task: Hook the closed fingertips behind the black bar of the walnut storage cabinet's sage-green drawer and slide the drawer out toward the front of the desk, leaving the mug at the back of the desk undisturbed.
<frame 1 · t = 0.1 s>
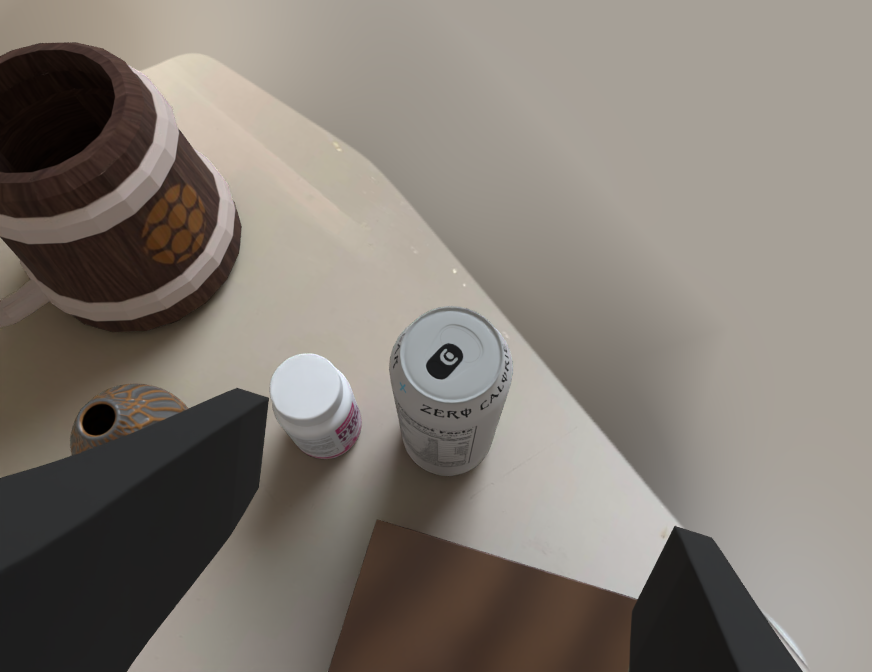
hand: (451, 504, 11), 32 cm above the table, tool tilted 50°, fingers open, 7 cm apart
cabinet: (467, 668, 38), on the table
pill bottle: (328, 426, 44), on the table
energy drink can: (447, 434, 44), on the table
mug: (123, 270, 49), on the table
vase: (162, 454, 44), on the table
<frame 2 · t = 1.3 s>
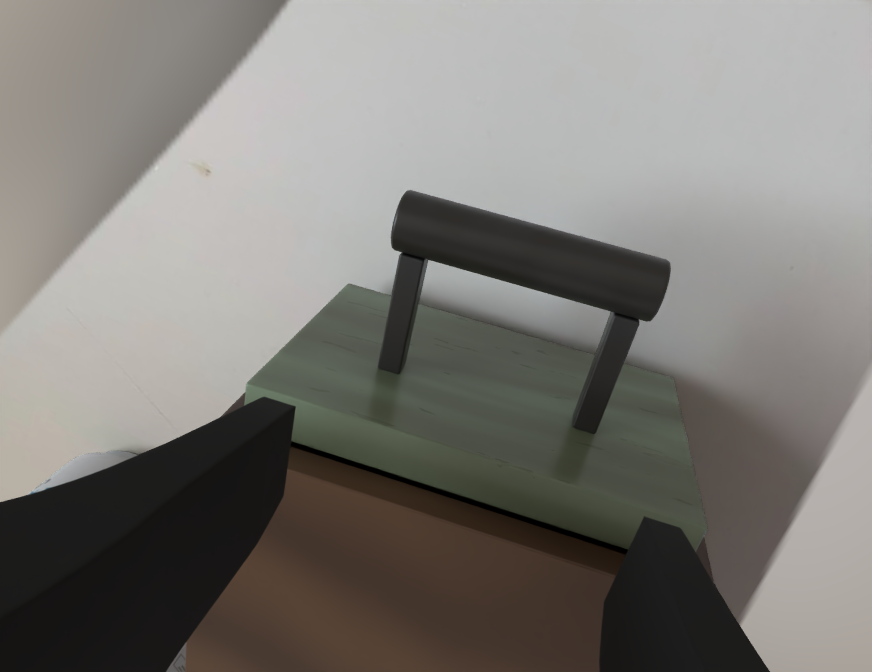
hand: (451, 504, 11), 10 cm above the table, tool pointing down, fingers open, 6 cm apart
cabinet: (454, 505, 24), on the table
energy drink can: (139, 496, 28), on the table
drawer: (456, 495, 19), point 4 cm above the table, slide at 0.0 cm
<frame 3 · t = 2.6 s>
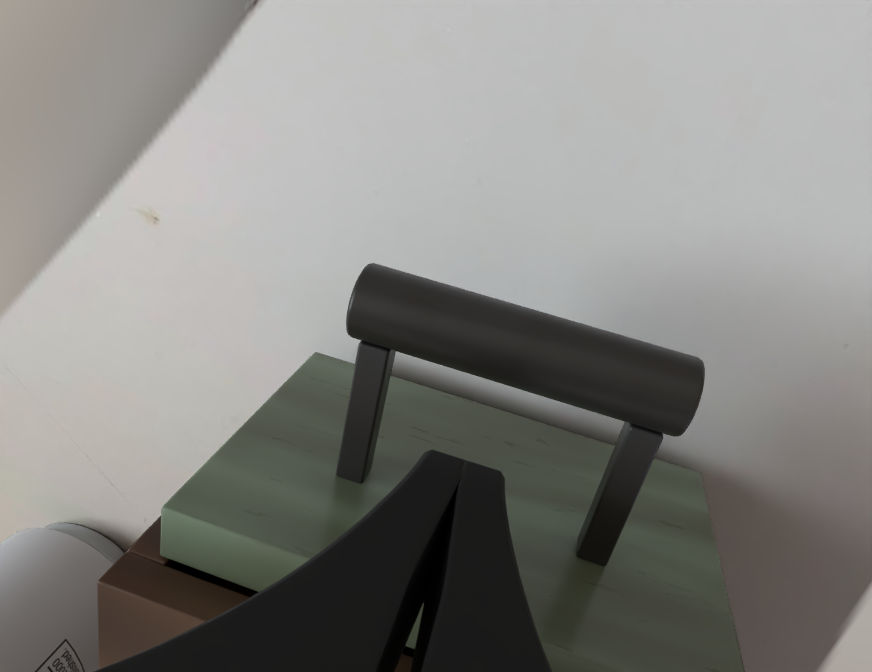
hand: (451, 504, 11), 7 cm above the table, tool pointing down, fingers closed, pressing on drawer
cabinet: (443, 599, 21), on the table
energy drink can: (91, 571, 25), on the table
drawer: (437, 616, 16), point 4 cm above the table, slide at 0.0 cm, touching cabinet, gripper
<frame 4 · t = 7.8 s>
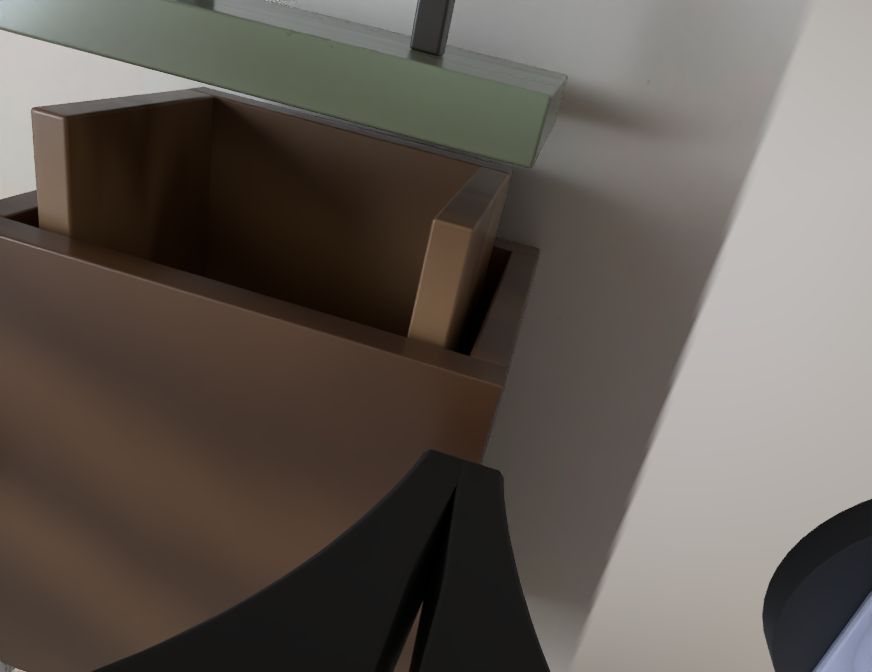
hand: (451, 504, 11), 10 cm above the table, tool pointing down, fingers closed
cabinet: (326, 384, 23), on the table
drawer: (302, 204, 16), point 4 cm above the table, slide at 3.6 cm
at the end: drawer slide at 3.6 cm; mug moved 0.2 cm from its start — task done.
